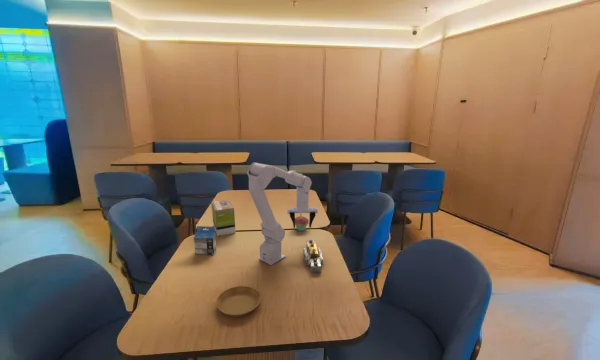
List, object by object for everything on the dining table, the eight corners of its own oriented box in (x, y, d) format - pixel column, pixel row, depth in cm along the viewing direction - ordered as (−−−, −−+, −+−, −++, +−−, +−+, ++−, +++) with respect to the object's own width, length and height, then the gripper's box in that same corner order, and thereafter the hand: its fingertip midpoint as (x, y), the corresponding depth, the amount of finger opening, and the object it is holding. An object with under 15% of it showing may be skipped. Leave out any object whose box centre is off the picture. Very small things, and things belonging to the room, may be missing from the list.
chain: (325, 272, 115) (325, 264, 114) (307, 273, 115) (307, 265, 114) (317, 245, 137) (318, 239, 136) (302, 246, 137) (302, 239, 136)
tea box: (212, 225, 159) (210, 201, 156) (230, 223, 163) (229, 198, 160) (216, 236, 146) (215, 209, 142) (236, 233, 150) (234, 207, 146)
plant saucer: (242, 286, 106) (242, 280, 105) (269, 303, 97) (269, 297, 96) (207, 307, 95) (207, 300, 94) (235, 328, 86) (234, 321, 85)
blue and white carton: (194, 254, 128) (192, 229, 125) (198, 250, 132) (195, 226, 129) (214, 255, 128) (212, 230, 125) (216, 250, 132) (215, 226, 128)
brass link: (318, 261, 122) (318, 251, 121) (310, 261, 122) (310, 251, 121) (315, 251, 131) (315, 241, 130) (308, 251, 131) (308, 241, 129)
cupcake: (308, 232, 152) (308, 211, 149) (292, 232, 152) (293, 211, 149) (308, 226, 160) (308, 206, 157) (293, 225, 161) (293, 205, 158)
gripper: (316, 197, 137) (315, 223, 140) (287, 197, 136) (287, 223, 139) (318, 202, 130) (317, 229, 134) (287, 202, 129) (287, 229, 133)
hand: (302, 226), depth 136 cm, fingers open, 7 cm apart
